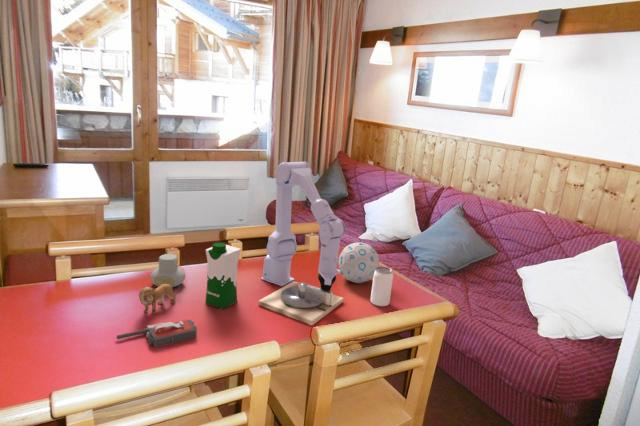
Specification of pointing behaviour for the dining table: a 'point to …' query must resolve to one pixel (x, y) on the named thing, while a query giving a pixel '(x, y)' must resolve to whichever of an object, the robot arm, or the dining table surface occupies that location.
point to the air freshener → (168, 271)
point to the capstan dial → (305, 296)
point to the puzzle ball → (358, 262)
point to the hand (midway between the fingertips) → (324, 296)
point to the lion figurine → (155, 296)
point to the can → (381, 286)
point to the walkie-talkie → (166, 333)
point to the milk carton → (222, 275)
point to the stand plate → (302, 315)
